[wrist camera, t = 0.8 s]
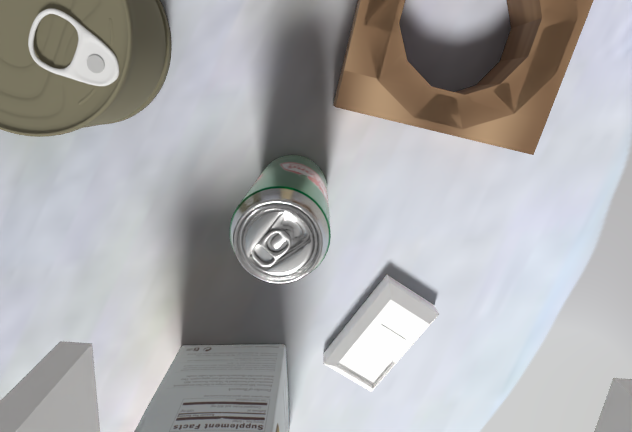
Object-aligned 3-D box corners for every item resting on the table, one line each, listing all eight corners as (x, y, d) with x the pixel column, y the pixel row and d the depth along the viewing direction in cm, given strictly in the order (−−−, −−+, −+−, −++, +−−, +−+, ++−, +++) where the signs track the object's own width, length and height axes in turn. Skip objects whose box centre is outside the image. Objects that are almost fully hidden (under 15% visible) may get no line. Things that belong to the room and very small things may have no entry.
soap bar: (433, 303, 34) (442, 320, 31) (369, 377, 36) (372, 399, 34) (385, 272, 33) (391, 287, 31) (323, 350, 35) (323, 370, 33)
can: (28, -103, 26) (-72, -170, 19) (202, -1, 27) (165, -31, 21) (-22, 74, 29) (-124, 68, 22) (136, 156, 30) (86, 174, 24)
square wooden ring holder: (333, 105, 29) (335, 106, 25) (382, -106, 25) (394, -142, 21) (505, 146, 30) (533, 154, 26) (578, -53, 26) (623, -77, 22)
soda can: (340, 188, 31) (353, 245, 19) (293, 231, 32) (278, 310, 20) (293, 139, 30) (277, 168, 18) (246, 186, 31) (202, 241, 19)
